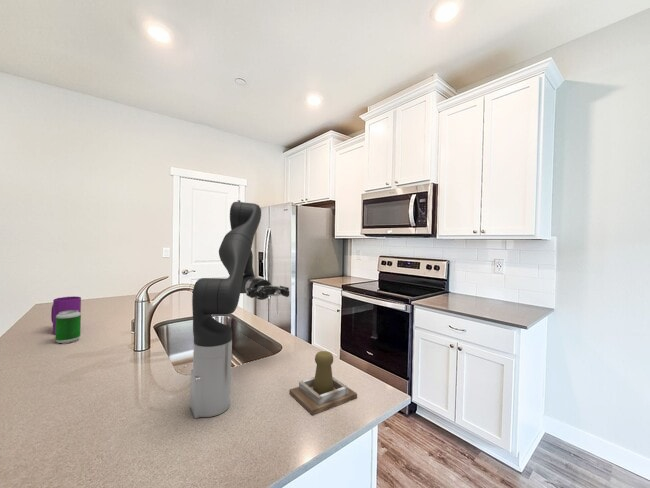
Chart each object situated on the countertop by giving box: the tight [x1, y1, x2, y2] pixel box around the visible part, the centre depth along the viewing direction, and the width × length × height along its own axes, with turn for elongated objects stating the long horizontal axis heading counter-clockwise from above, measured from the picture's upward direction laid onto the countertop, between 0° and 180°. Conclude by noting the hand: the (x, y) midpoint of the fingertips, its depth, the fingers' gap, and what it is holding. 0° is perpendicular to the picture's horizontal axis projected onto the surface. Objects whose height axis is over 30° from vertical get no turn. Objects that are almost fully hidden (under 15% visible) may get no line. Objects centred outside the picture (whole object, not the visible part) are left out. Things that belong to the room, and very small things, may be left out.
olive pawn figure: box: [313, 350, 334, 395], centre depth 81 cm, size 6×6×11 cm
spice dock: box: [288, 376, 358, 416], centre depth 81 cm, size 15×12×3 cm
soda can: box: [55, 310, 82, 344], centre depth 116 cm, size 8×8×12 cm
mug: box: [50, 296, 82, 335], centre depth 128 cm, size 9×16×15 cm, turn 68°
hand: (276, 294), depth 95 cm, fingers open, 8 cm apart
